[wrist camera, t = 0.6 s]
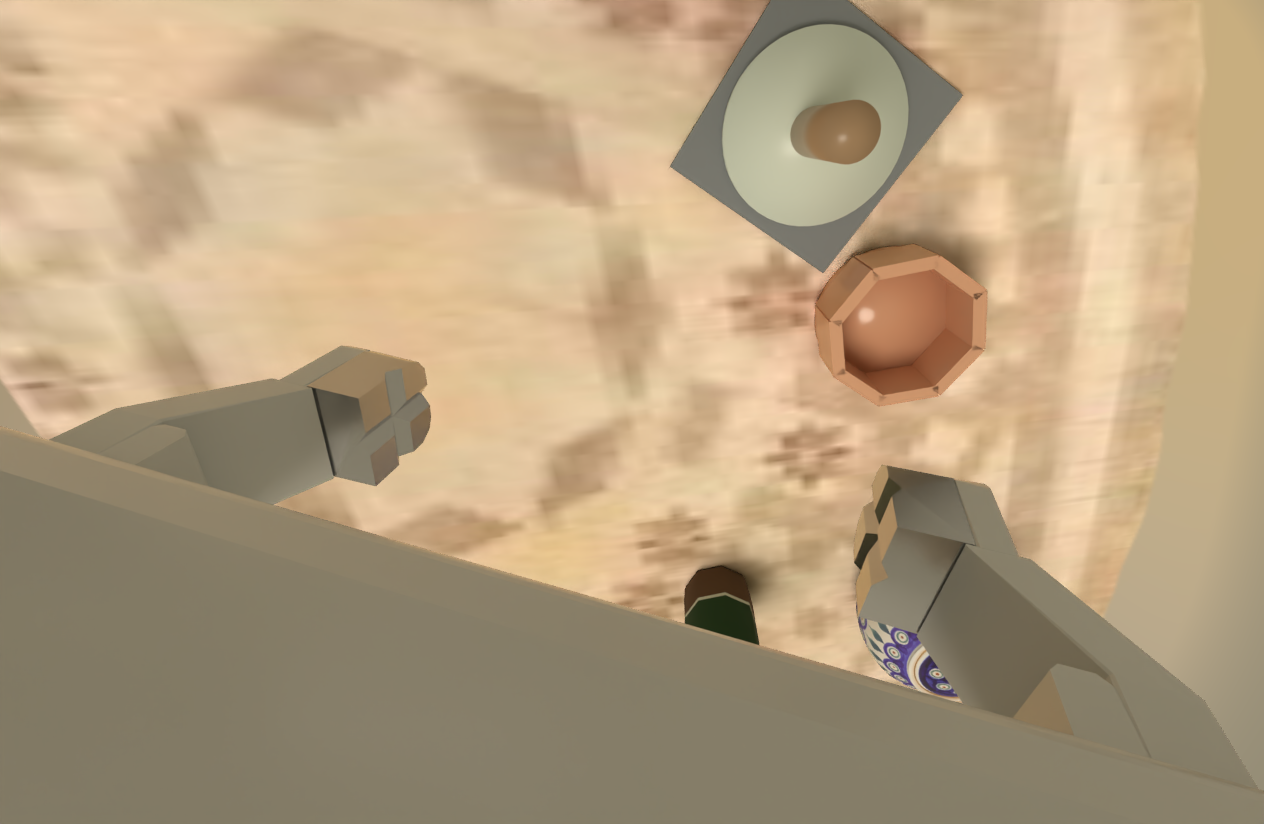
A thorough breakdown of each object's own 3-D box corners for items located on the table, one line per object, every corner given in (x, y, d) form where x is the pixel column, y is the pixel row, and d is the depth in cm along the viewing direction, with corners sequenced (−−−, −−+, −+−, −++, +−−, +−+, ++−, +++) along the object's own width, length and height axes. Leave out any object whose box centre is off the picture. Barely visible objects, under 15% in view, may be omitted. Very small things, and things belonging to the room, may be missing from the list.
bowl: (878, 218, 48) (904, 228, 43) (982, 294, 50) (1020, 314, 45) (787, 332, 53) (800, 355, 48) (886, 398, 55) (909, 426, 50)
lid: (798, -18, 41) (839, -65, 31) (943, 100, 44) (1023, 91, 34) (687, 162, 47) (692, 170, 37) (821, 256, 49) (859, 288, 40)
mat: (794, -40, 41) (796, -42, 40) (960, 95, 44) (963, 95, 44) (670, 166, 47) (670, 166, 47) (821, 271, 50) (823, 273, 50)
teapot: (806, 524, 62) (842, 629, 49) (944, 468, 58) (1024, 566, 45) (887, 669, 71) (937, 792, 58) (1013, 629, 67) (1097, 752, 54)
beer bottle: (687, 560, 65) (696, 771, 44) (755, 567, 65) (798, 781, 44) (680, 611, 69) (685, 829, 47) (745, 617, 69) (779, 838, 47)
